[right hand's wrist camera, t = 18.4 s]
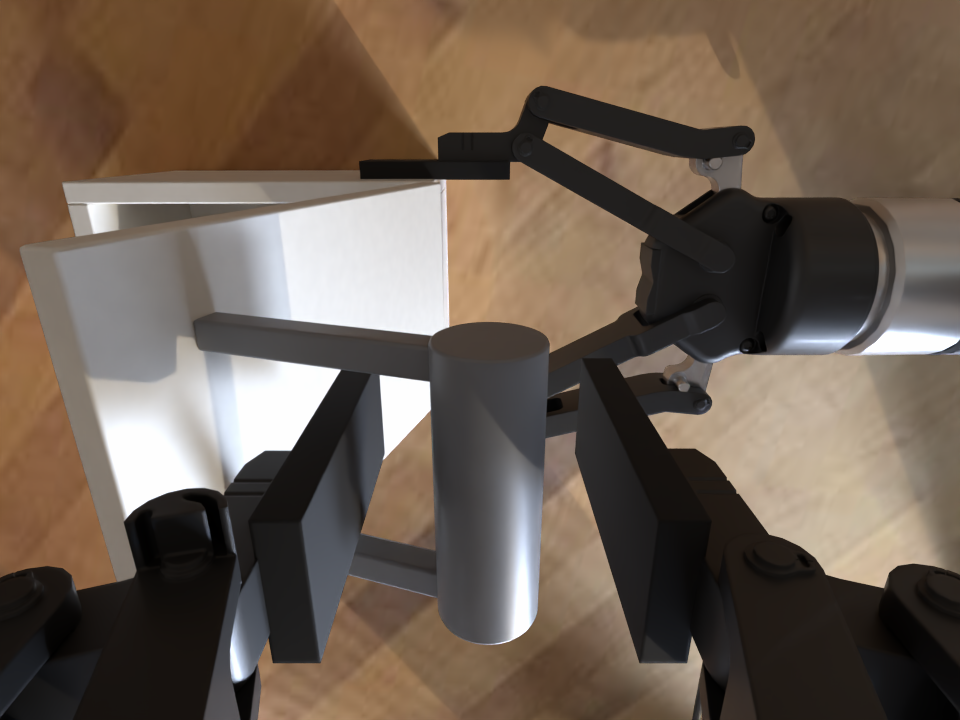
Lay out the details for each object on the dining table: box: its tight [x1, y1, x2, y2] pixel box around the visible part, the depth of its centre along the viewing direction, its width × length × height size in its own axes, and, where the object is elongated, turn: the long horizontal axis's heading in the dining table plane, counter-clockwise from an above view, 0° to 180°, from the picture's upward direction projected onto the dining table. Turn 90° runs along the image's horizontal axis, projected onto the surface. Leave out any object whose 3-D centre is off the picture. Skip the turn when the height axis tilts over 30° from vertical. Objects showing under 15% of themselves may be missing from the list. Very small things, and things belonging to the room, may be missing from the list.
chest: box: [62, 170, 449, 329], centre depth 30 cm, size 15×9×10 cm, turn 90°
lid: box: [20, 182, 550, 645], centre depth 17 cm, size 16×9×8 cm
